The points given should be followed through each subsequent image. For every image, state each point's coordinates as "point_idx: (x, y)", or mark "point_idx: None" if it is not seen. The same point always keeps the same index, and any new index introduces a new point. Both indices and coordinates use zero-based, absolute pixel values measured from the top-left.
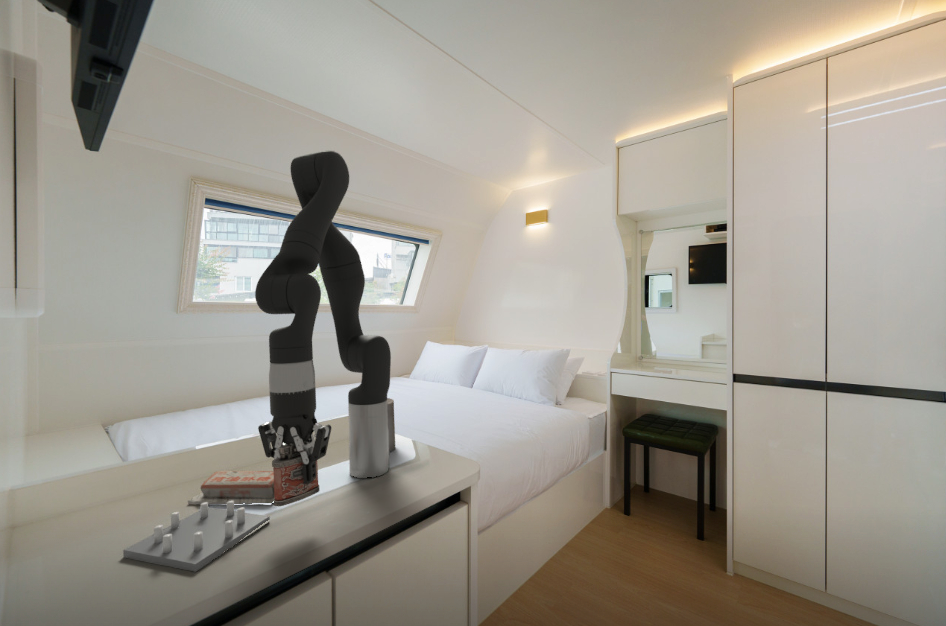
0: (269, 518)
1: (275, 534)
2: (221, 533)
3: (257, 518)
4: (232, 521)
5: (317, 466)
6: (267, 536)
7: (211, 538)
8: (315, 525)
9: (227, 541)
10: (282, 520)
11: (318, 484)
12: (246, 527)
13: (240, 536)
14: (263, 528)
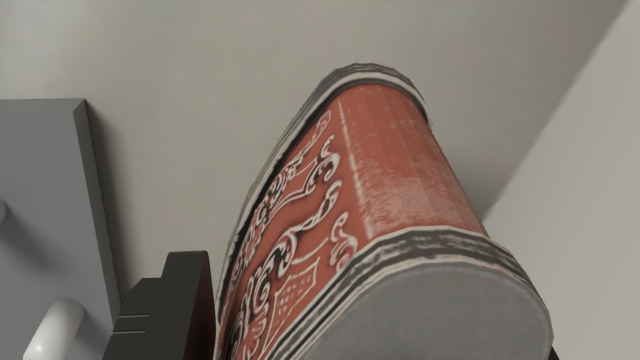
0: (77, 107)
1: (218, 181)
2: (3, 304)
3: (29, 151)
4: (57, 354)
5: (465, 193)
6: (194, 204)
7: (4, 340)
8: (364, 55)
9: (101, 338)
10: (133, 56)
11: (402, 82)
12: (65, 235)
13: (108, 286)
14: (106, 153)
